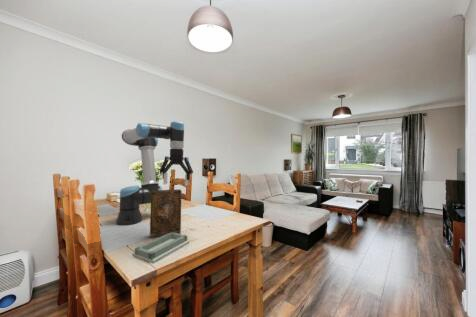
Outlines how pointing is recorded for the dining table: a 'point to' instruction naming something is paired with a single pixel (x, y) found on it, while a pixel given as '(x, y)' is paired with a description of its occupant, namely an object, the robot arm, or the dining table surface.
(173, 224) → the book
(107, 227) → the dining table surface
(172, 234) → the tray
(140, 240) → the dining table surface
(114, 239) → the dining table surface
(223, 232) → the dining table surface
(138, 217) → the robot arm
